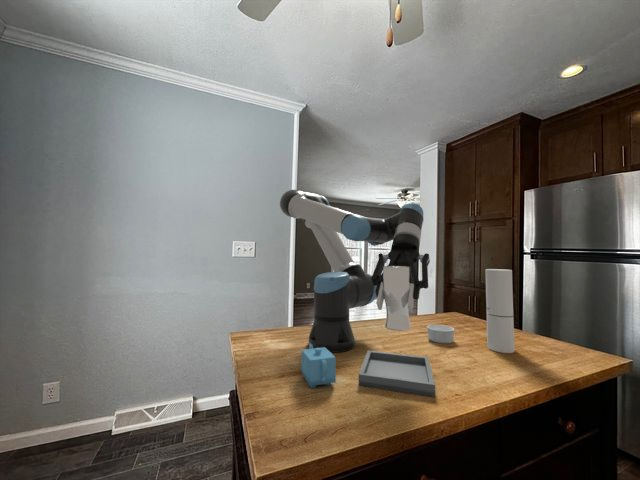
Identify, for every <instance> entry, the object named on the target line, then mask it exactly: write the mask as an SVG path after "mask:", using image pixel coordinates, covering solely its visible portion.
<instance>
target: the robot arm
mask: <svg viewBox="0 0 640 480" xmlns="http://www.w3.org/2000/svg"><path fill="white" fill-rule="evenodd" d="M279 206H280V209H281V211H282V213H283V214H284V215H286V216H287V217H290V218H292V219H295V220H296V219H300V220H302V222H303V224H304V225H305V227H306V228H308V229H311V231H312V232H313V235H314V237H315V239H316V241H317V242H318V244H319V246H320V248H321V250H322V251H323V254H324V256H325V257H326V260H327V261H328V263H329V265H330V267H331V269H332V272H330V271H329V272H328V271H327V272H324V273H320V274H318V275H316V277H315V278H314V284H313V285H314V286H313V323H312V325H311V329H310V332H309V335H308V344H309V343H311V344H312V345H313V348H322V347H325V348H326V349H327V350H329V351H330V352H331V353H342V352H347V351H350V350H352V349H354V348H355V344H356V342H355V339H356V338H355V335H354V332H353V329H352V326H351V323H350V310H351V309H355V308H361V307H366V306H367V305H370V304H372V303H373V302H374V301H375V300H376V303H375V304H376V306H377V309H378V310H379V311H382V308H383V305H384V302H385V299H384V294H383V266H386V265H385V264H387V261H388V260H389V263H388V265H387V266H409V267H410V271H411V281H412V284H411V287H410V292H409V298H408V305H407V306H408V310H409V313H410V314H411V313H412V314H413V312H414V304H415V300H416V301H418V300H419V299H420V294H421V293H420V292H421V289H428V288H429V269H428V268H429V267H428V266H429V264H430V262H431V260H430V254H429V253H424V254H420V245H421V244H420V243H421V239H422V238H421V236H422V228H423V223H424V220H425V219H424V209H423V207H422V206H420V205H419V204H418V203H415V202H409V203H405V204H403V205H402V206H401V207H400V209H399V211H398V213H396V214H394V215H391V216H389V217H387V218H384V219H377V218H371V217H366V216H363V215H360V214H356V213H352V212H350V211H347V210H343V209H340V208H338V207H334V206H331V205H330V202H329V200H328V199H327V197H325V196H323V195H321V194H319V193H312V192H307V191H304V190H300V189H291V190H287V191H285V192H284V193H283V194H282V196H281V198H280V201H279ZM339 234H340V235H343V236H344V237H345V239H346V240H349V241H353V242H367V243H368V244H369V245H371V247H372V246H374V247H376V246H380V245H384V244H385V243H389V242H390V241H392V243H391V247H390V251H388V253H387V254H383V253H378V260H377V262H376V265H375V267H374V270H373V273H372V275H371V274H369V273H367V272H365V271H364V269H363V267H362V266H361V264H359V263H355V262H354V260H353V258H352V256H351V254H350V253H349V251H348V249H347V248H346V246H345V244H344V242H343V241H342V239H341V237H340V236H339ZM418 261H419V262H420V263H421V280H420V279H419V276H418V274H417V271H416V268H415V265H414V264H416V262H418ZM376 298H377V299H376Z"/></svg>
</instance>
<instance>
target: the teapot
mask: <svg viewBox="0 0 640 480" xmlns="http://www.w3.org/2000/svg"><path fill="white" fill-rule="evenodd" d="M336 359H337V358H336V356H335V355H334V354H333V352H330V351H329V350H327V349H326V348H325V347H322V348H313V345H312V344H311V343H309V342H308V348H305V349H301V366H300V367H301V370H300V371H301V372H300V373H301V375H302V377H303V378H304V380H305V381H306V383H307V384H308V386H309V387H310V388H316V387H317V386H323V385H325V386H330V385H332V384H333V383H336V382H337V380H336V379H337V378H336V377H337V376H336V374H337V370H336V369H337V367H336V366H337V361H336Z"/></svg>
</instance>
